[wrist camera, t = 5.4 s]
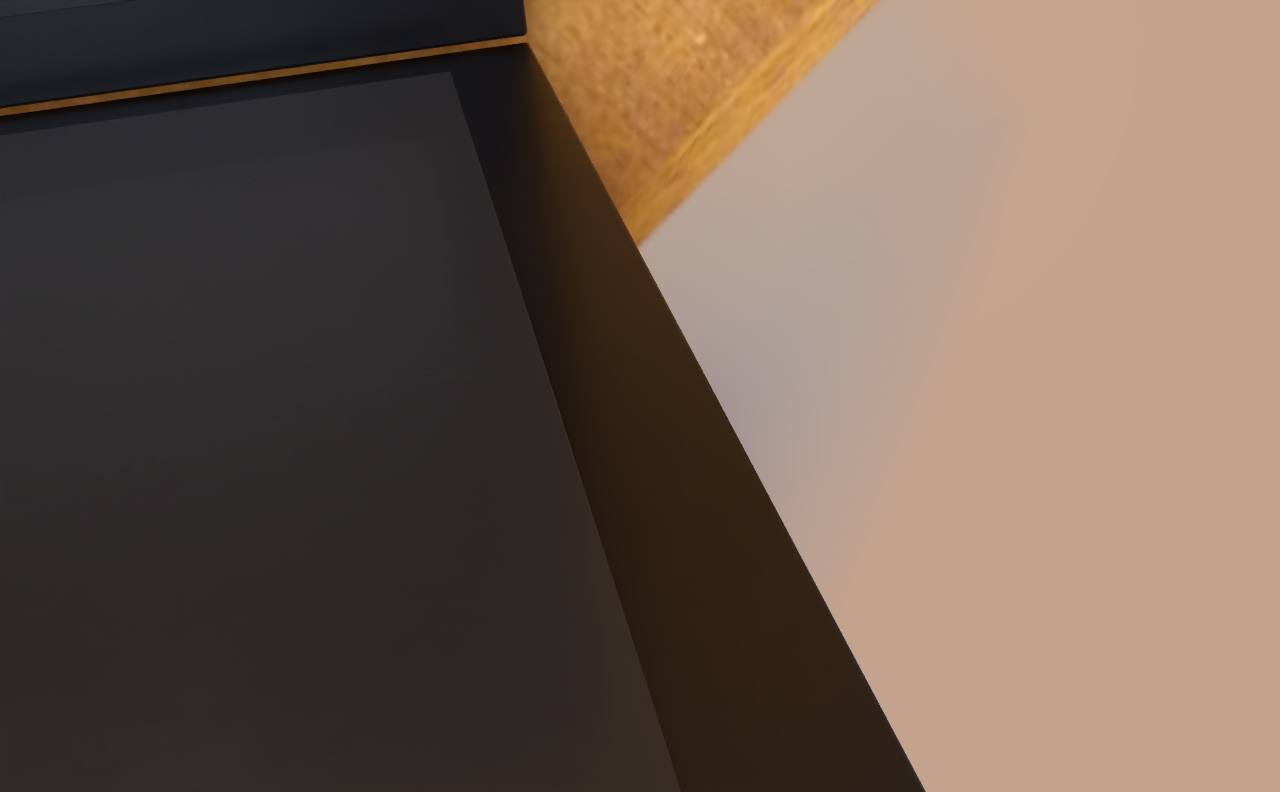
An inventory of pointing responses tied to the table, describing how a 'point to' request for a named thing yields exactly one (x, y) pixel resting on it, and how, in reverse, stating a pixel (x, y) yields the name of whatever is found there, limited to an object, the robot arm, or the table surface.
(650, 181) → the table surface
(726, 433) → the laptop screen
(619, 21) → the table surface
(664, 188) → the table surface
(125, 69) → the laptop
